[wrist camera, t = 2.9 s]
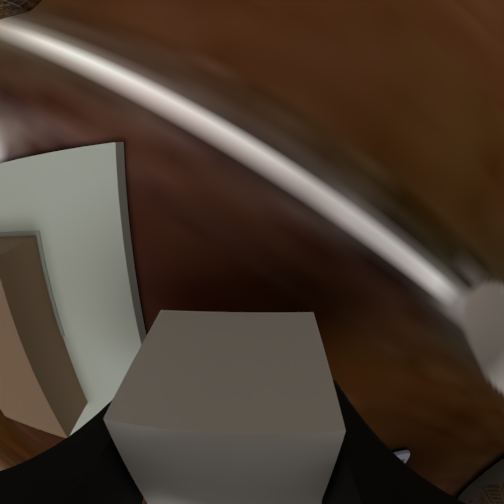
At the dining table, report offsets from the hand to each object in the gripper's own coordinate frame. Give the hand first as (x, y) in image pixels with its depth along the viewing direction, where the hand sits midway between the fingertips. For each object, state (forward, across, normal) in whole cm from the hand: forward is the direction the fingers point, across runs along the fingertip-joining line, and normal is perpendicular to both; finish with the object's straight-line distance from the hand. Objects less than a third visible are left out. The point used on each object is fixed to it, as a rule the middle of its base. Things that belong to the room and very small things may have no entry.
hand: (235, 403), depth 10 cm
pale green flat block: (+5, +11, +1) cm, 12 cm away
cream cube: (+2, 0, 0) cm, 2 cm away
